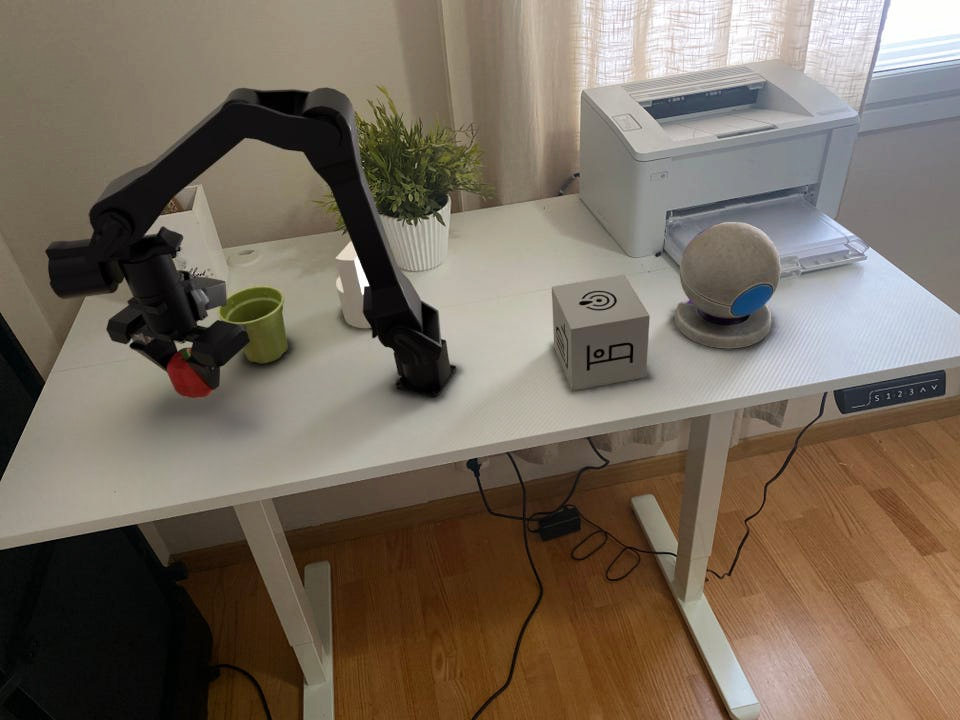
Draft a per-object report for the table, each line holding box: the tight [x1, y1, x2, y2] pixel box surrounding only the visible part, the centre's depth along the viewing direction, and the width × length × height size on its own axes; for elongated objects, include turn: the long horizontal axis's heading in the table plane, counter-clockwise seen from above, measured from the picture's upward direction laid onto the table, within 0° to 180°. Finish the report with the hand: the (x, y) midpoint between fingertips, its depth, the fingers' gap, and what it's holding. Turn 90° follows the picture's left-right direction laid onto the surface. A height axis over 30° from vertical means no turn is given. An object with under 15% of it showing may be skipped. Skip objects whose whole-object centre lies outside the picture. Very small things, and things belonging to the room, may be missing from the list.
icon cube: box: [551, 274, 651, 391], centre depth 98 cm, size 10×10×10 cm
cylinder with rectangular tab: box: [335, 240, 371, 329], centre depth 112 cm, size 9×9×12 cm
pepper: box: [166, 346, 214, 399], centre depth 96 cm, size 6×6×7 cm
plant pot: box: [216, 285, 289, 364], centre depth 107 cm, size 9×9×9 cm
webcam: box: [674, 221, 782, 349], centre depth 100 cm, size 13×13×15 cm
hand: (198, 383), depth 98 cm, fingers closed on pepper, 5 cm apart
